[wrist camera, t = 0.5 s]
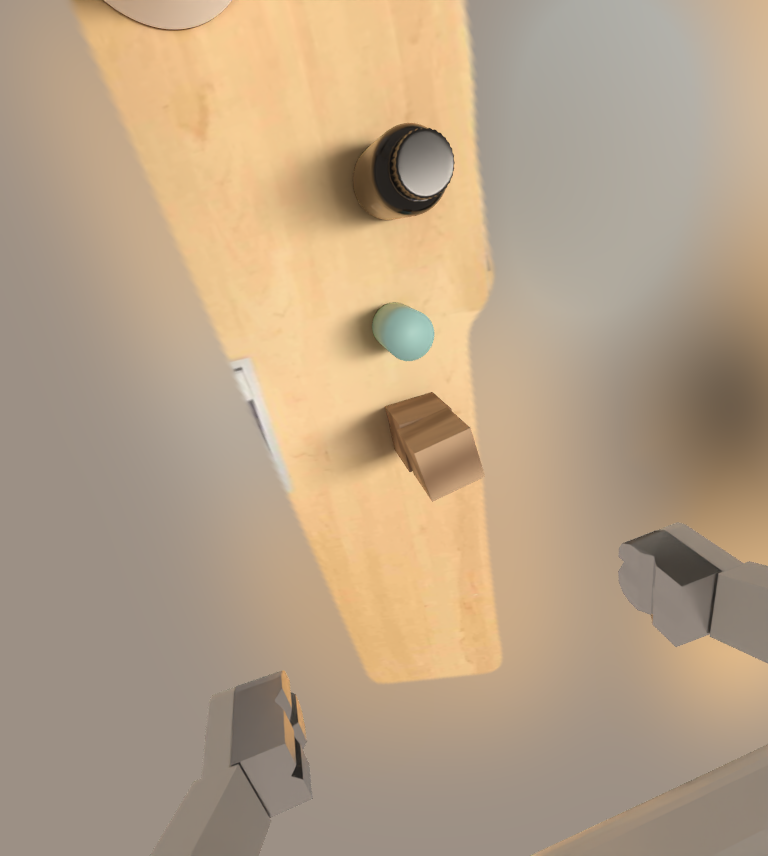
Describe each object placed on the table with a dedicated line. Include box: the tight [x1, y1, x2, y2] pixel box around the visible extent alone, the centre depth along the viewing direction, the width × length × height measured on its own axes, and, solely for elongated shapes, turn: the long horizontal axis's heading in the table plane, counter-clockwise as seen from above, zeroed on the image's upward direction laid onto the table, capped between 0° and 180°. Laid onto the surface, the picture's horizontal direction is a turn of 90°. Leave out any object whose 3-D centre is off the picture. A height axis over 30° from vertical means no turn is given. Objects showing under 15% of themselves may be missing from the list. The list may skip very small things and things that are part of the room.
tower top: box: [397, 407, 485, 501], centre depth 48 cm, size 6×6×6 cm
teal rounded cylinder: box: [372, 302, 434, 361], centre depth 49 cm, size 5×5×6 cm
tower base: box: [385, 392, 452, 472], centre depth 54 cm, size 6×6×6 cm
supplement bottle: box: [353, 123, 454, 220], centre depth 40 cm, size 7×7×12 cm
